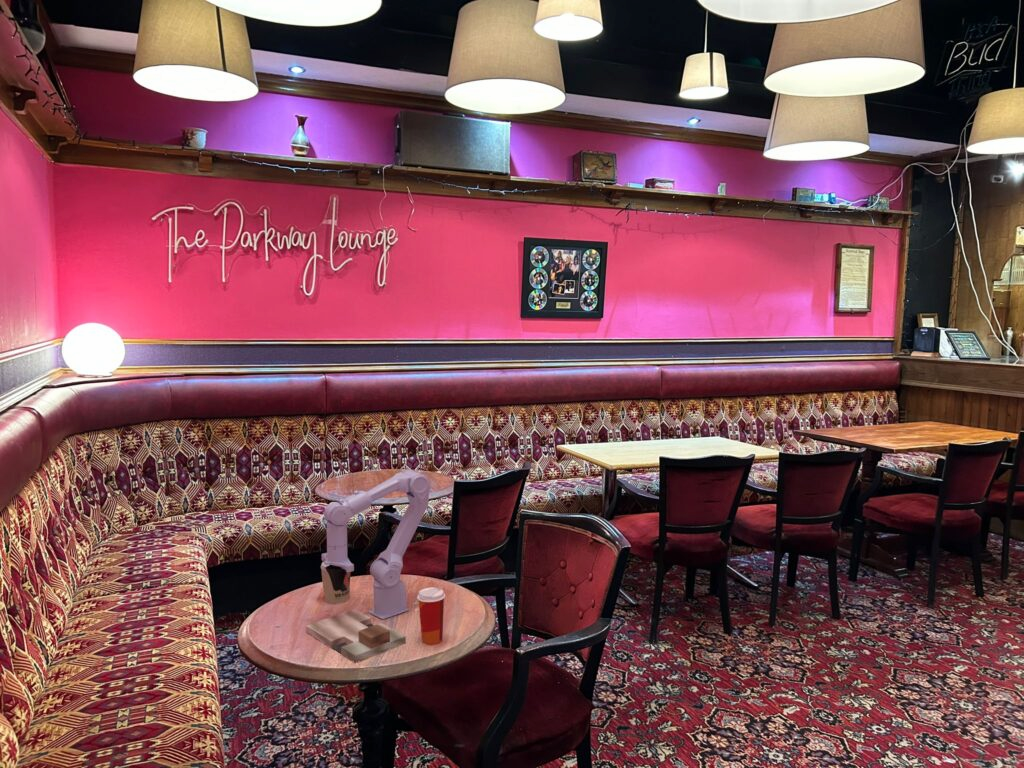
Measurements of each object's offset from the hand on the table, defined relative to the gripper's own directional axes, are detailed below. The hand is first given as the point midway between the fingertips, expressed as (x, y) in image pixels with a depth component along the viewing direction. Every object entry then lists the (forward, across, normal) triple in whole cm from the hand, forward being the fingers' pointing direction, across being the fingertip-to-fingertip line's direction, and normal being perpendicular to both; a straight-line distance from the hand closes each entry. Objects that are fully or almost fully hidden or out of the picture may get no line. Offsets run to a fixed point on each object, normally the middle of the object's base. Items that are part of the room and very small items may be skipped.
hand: (337, 589), depth 211 cm
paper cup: (+10, +28, +13) cm, 32 cm away
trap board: (+10, +11, -1) cm, 15 cm away
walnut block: (+8, +21, -1) cm, 22 cm away
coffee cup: (+10, -17, +10) cm, 22 cm away
